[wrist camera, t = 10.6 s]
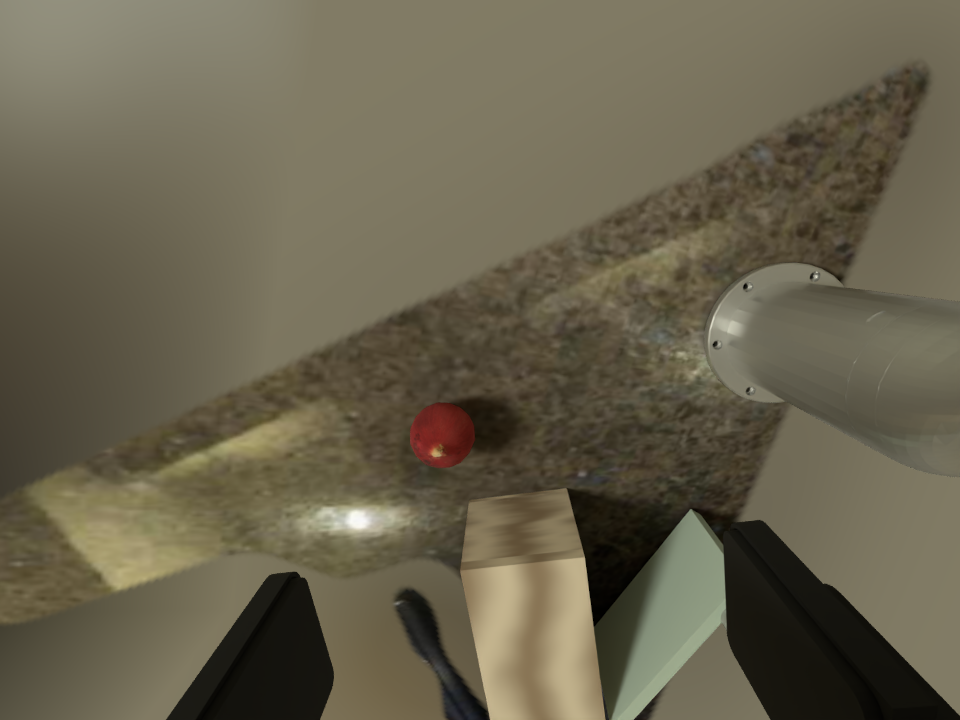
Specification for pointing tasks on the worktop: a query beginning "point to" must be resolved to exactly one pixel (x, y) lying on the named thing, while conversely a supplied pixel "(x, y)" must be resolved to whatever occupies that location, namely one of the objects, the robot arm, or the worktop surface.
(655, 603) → the cupboard door
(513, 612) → the cupboard
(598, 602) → the worktop surface
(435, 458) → the onion
